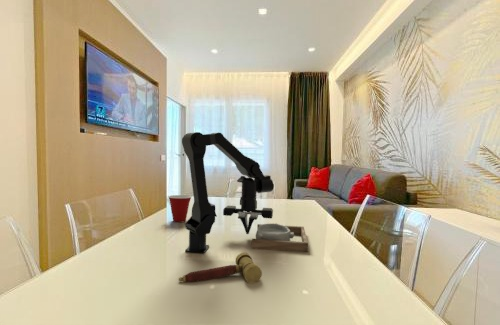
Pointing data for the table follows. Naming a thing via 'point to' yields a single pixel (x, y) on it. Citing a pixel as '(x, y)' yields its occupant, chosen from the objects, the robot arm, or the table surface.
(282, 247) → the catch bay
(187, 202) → the plastic cup
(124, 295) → the table surface
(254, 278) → the gavel
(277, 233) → the dish
